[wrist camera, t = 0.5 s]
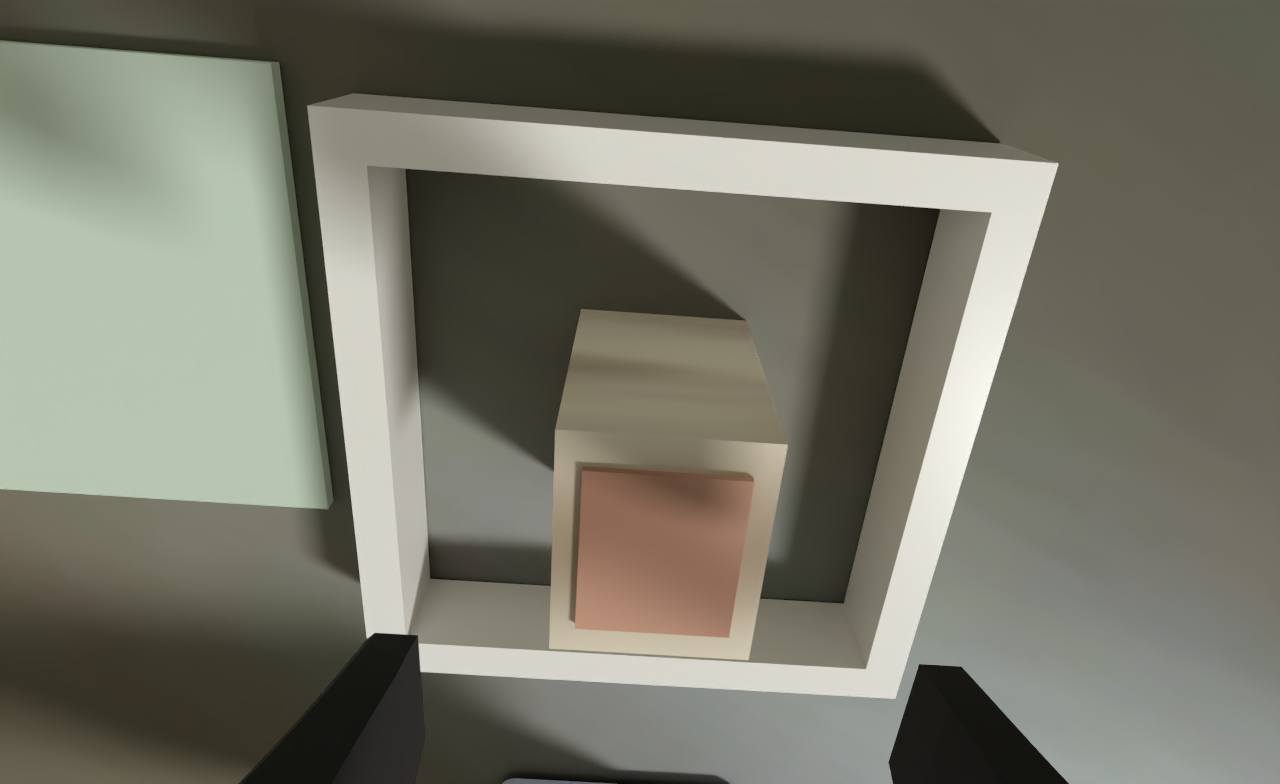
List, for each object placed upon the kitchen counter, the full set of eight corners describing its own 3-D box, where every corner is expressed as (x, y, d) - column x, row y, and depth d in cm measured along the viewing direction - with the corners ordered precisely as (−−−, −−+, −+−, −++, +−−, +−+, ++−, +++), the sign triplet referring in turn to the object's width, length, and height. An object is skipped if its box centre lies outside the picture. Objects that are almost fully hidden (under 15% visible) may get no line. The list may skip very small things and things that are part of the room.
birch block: (721, 492, 21) (749, 665, 15) (573, 483, 21) (548, 654, 15) (746, 320, 19) (789, 449, 13) (581, 308, 18) (553, 433, 13)
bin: (870, 631, 23) (895, 698, 21) (397, 603, 22) (370, 669, 20) (1002, 143, 17) (1058, 163, 14) (353, 93, 16) (306, 105, 14)
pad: (333, 500, 21) (328, 509, 20) (-81, 475, 20) (-94, 483, 20) (279, 62, 16) (270, 63, 16) (-264, 19, 16) (-285, 19, 15)
